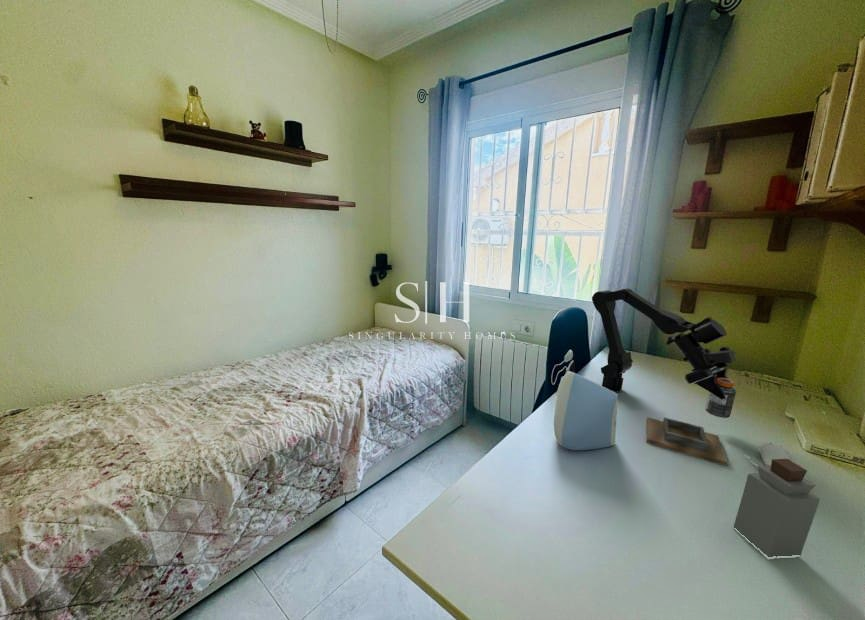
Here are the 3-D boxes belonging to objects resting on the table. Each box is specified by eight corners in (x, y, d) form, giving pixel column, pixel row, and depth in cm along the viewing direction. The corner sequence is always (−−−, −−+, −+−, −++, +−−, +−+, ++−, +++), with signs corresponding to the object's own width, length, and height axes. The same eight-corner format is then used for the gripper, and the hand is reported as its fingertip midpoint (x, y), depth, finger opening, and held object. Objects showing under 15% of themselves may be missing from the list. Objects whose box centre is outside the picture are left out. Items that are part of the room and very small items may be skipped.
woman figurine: (808, 450, 87) (812, 490, 75) (803, 464, 88) (807, 505, 76) (748, 431, 95) (744, 465, 83) (745, 444, 96) (740, 479, 84)
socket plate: (646, 442, 96) (648, 431, 96) (646, 420, 108) (648, 410, 107) (726, 466, 87) (729, 453, 86) (717, 439, 99) (719, 428, 98)
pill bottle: (720, 409, 105) (728, 376, 102) (734, 419, 99) (744, 385, 97) (700, 407, 106) (708, 375, 103) (713, 417, 100) (722, 383, 97)
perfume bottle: (733, 528, 69) (754, 453, 64) (762, 526, 69) (785, 452, 65) (767, 559, 62) (793, 478, 58) (799, 557, 63) (827, 477, 58)
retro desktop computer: (571, 345, 104) (631, 359, 93) (572, 401, 114) (626, 420, 102) (533, 391, 89) (599, 414, 77) (538, 452, 98) (597, 480, 87)
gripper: (706, 343, 95) (746, 394, 89) (729, 334, 105) (767, 379, 99) (670, 360, 103) (705, 407, 97) (695, 349, 113) (728, 392, 107)
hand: (727, 396), depth 100 cm, fingers closed on pill bottle, 6 cm apart
